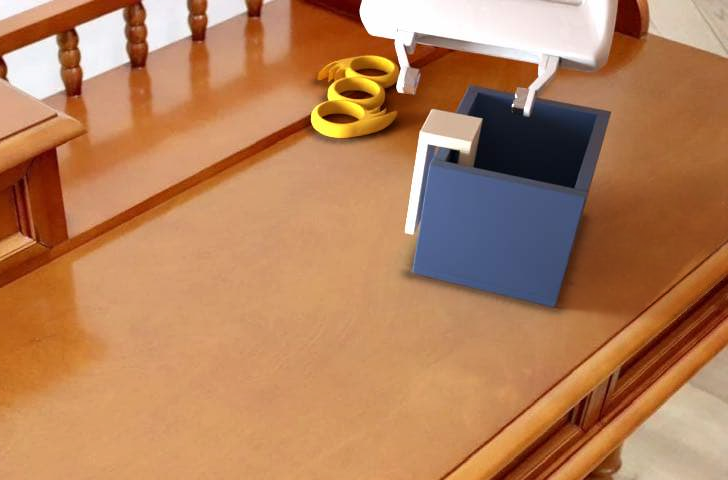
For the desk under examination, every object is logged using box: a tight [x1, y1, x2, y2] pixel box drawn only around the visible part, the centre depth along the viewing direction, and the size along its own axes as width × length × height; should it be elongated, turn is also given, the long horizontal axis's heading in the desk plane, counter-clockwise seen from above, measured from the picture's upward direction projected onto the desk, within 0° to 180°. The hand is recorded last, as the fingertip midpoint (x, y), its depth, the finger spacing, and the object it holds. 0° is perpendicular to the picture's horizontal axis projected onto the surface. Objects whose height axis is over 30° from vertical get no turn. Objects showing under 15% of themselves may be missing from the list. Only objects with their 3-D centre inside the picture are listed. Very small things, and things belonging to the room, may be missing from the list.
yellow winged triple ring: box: [310, 54, 400, 139], centre depth 115 cm, size 17×2×10 cm
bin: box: [412, 84, 612, 308], centre depth 93 cm, size 14×12×11 cm
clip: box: [404, 108, 483, 236], centre depth 92 cm, size 4×4×10 cm
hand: (462, 102), depth 89 cm, fingers open, 8 cm apart
